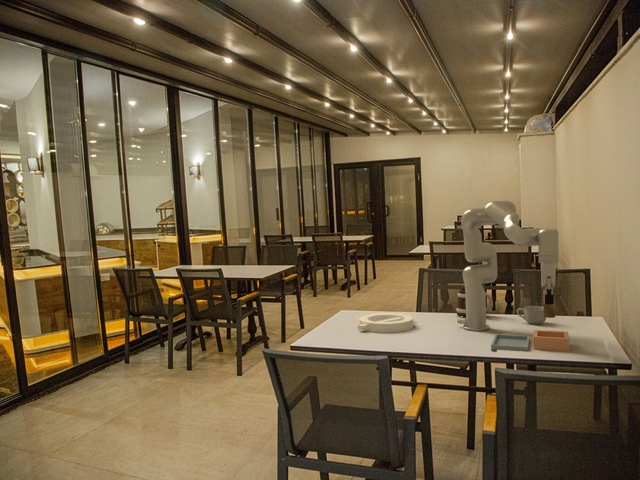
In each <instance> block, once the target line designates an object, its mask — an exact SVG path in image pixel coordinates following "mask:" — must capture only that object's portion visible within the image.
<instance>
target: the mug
mask: <svg viewBox="0 0 640 480" xmlns="http://www.w3.org/2000/svg"><path fill="white" fill-rule="evenodd" d="M485 298H487V299H488V303H489V304H488V307H486V313H487V312H490V311H491V310H492V309H493V307H494V301H493V297H492V295H490V294H489V293H487V292H485ZM456 315H457V316H458V315H459V316H463V317H462V318H464V317H466V297H465V287H464V288H460V289H459V290H458V293H457V306H456ZM459 316H458V317H459Z"/></svg>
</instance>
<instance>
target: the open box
mask: <svg viewBox="0 0 640 480" xmlns="http://www.w3.org/2000/svg"><path fill="white" fill-rule="evenodd" d="M532 339H533V340H532V342H533V343H532V344H533V346H532V347H533V350H538V351H552V352H553V351H554V352H555V351H556V352H570V337H569V331H564V330H563V331H561V330H559V331H558V330H542V329H540V330H539V329H533V333H532Z"/></svg>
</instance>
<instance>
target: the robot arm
mask: <svg viewBox="0 0 640 480" xmlns="http://www.w3.org/2000/svg"><path fill="white" fill-rule="evenodd" d="M460 221H461V223H460V224H461V225H460V226H461V228H462V229H461V230H462V234H463V246H464V247H463V248H464V249H463V251H464V258H465V260H466V261H467V262H468V263H482V264H473V265H469V266H466V267H465V268H464V269H463V271H462V279H463V285H464V288H465V297H466V318H464V319H461V318H460V319H457V324H459V325H460V324H461V325H463V329H464V330H467V331H475V332H477V331H478V332H481V331H482V332H483V331H484V332H485V331H488V330H490V328H491V326H490V325H489V324H487V312H486V308H487V303H486V302H487V301H486V298H487V297H486V296H485V293H486V290H485V289H484V287H483V285H482V284H490V283H491V284H492V283H494V282H495V281H496V280H497V278H498V256H497V255H498V253H497V250H496V248H495V246H494V244H492V243H490V242H483V239H482V232H481V231H480V229H479V228H478V227H479V226H494V225H499V226H500V227H501V228H503V232H504V236H505V237H506V238H507V239H508V240H509V241H510V242H512V243H513V244H515V245H517V246H518V247H523V248H524V247H538V263H539V264H540V266H541V267H540V274H541V275H540V276H541V277H540V280H541V286H540V287H541V288H544V287H545V288H544V290H545V304H554V295H553V290H554V287H555V285H556V270H557V269H556V267H557V266H556V264H559V262H560V259H559V258H560V255H559V253H560V252H559V249H560V248H559V246H560V245H559V230H557V228H541V227H531V228H522V227H520V226H518V225H519V223H520V215H519V214H518V213H517V207H516V205H515V204H514V203H513V202H512V201H510V200H493V201H490V202H488V203H486V205H485V206H484V208H483V207H482V208H481V207H477V208H470V209H467V210H466V211H464V213H463V214H462V215H461V220H460Z"/></svg>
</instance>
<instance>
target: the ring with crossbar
mask: <svg viewBox="0 0 640 480" xmlns="http://www.w3.org/2000/svg"><path fill="white" fill-rule="evenodd" d="M358 321H359V324H357V330H358V331H362V332H363V331H366V332H372V333H399V332H404V331H405V332H406V331H410V330H411V329H413V328H414V317H413V315H410V314H404V313H397V312H396V313H395V312H394V313H392V312H391V313H390V312H388V313H387V312H383V313H372V314H371V313H370V314H367V315H362V316H361V317H359V319H358Z"/></svg>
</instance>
